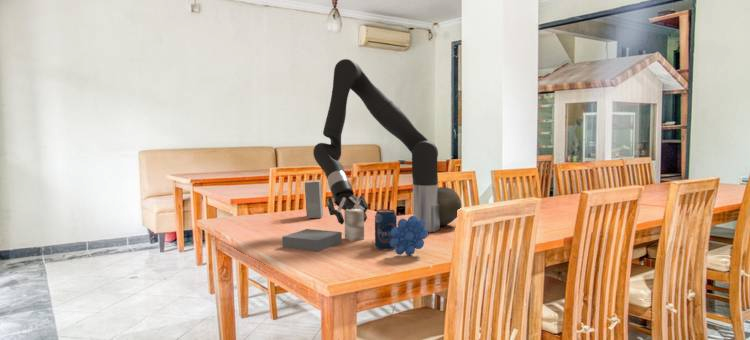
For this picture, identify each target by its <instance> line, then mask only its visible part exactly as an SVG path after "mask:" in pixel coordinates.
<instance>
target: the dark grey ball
mask: <svg viewBox="0 0 750 340" xmlns="http://www.w3.org/2000/svg"><path fill="white" fill-rule="evenodd" d="M438 204H439V205H440V227H441V226H446V225H449V224H450V223H452V222H453V221H455V220H456V219H457V218H458V216H457V210H458V209H460V208H461V209H462V200H461V198H460V196H459V194H458V193H457V192H456V191H455V190H454V189H453V188H450V187H442V186H440V187H439V186H438Z"/></svg>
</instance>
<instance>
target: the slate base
mask: <svg viewBox="0 0 750 340" xmlns="http://www.w3.org/2000/svg"><path fill="white" fill-rule="evenodd" d="M342 235H343V233H342V231H335V230H333V231H332V230H321V229H311V228H305V229H302V230H299V231H296V232H293V233H290V234H287V235H283V236H282V237H281V239H282V241H281V243H282V248H284V249H294V250H301V251H311V252H312V251H313V252H322V251H324V250H326V249H329V248H331V247H335V246H336V245H339V244H342V243H343V241H342Z"/></svg>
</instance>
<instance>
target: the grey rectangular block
mask: <svg viewBox="0 0 750 340" xmlns="http://www.w3.org/2000/svg"><path fill="white" fill-rule="evenodd" d="M304 193H305V194H304V196H305V210H306V212H305V213H306V219H321V218H322V217H323V216H324V207H323V195H322V194H323V191H322V180H311V181H309V180H308V181H305V182H304Z"/></svg>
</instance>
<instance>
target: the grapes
mask: <svg viewBox="0 0 750 340" xmlns="http://www.w3.org/2000/svg"><path fill="white" fill-rule="evenodd" d="M425 225H426V224H425V221H424V220H419V221H417V217H416V216H413V215H411V216H409V217H408V219H406V218H401V219H399V220H398V222H397V227H394V228H393V229H392V230H391V236H392V237H394V238H392V239H391V241H390V246H391V247H393V248H394V249H395V254H396V255H403V254H404V253H405V255H407V256H412V255H413V254H414V253H415V251H416V250H421V249H422V248H423V247H424V245H425V241H424V240H425V239H426V238H428V235H429V232H428V231H427V230H426V229H423V228H424V227H425Z"/></svg>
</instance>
